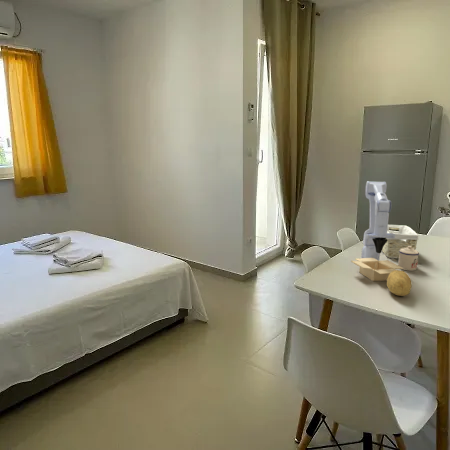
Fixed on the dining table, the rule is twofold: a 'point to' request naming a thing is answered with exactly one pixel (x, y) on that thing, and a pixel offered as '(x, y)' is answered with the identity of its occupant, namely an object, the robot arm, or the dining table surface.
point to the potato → (399, 283)
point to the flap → (361, 265)
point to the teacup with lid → (408, 258)
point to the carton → (377, 268)
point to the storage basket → (399, 240)
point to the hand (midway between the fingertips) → (378, 252)
